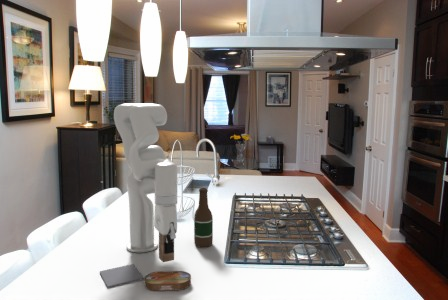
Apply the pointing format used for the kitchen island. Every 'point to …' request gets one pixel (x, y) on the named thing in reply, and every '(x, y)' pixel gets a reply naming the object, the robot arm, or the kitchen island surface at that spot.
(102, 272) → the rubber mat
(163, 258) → the walnut block
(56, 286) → the kitchen island surface
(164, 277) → the tin
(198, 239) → the beer bottle
